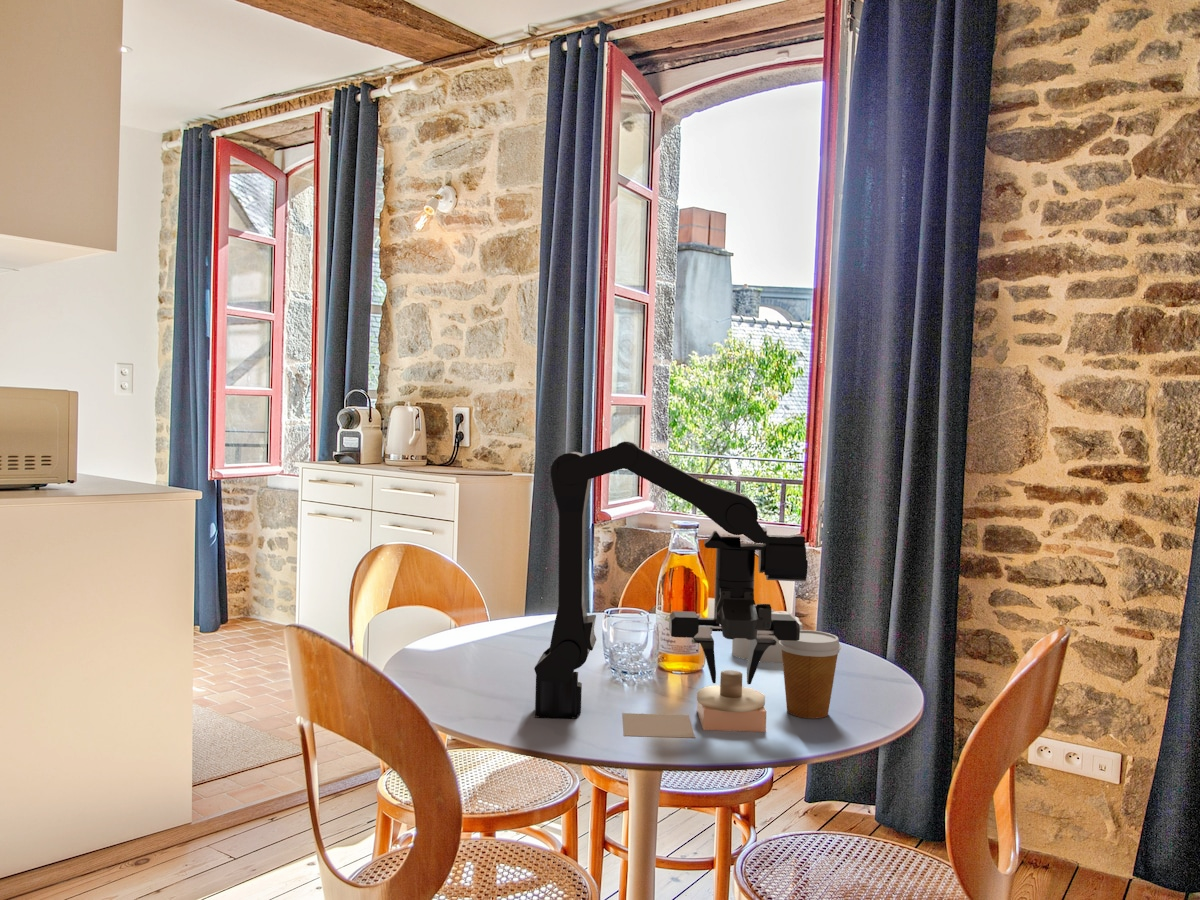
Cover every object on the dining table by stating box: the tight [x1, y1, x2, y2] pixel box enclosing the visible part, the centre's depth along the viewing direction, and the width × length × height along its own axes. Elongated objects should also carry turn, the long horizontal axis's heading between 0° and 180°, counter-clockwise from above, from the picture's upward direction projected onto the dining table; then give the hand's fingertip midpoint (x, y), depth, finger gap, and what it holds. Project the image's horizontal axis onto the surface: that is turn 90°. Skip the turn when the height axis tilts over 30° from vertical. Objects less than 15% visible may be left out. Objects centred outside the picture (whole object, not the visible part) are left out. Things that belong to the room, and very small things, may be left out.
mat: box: [622, 712, 696, 739], centre depth 135 cm, size 10×10×1 cm
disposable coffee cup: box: [779, 629, 842, 719], centre depth 144 cm, size 10×10×12 cm
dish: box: [696, 700, 767, 733], centre depth 138 cm, size 9×9×4 cm
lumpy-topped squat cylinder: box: [731, 608, 803, 664], centre depth 180 cm, size 10×13×9 cm
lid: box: [696, 670, 766, 712], centre depth 137 cm, size 10×10×4 cm
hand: (731, 683), depth 137 cm, fingers open, 5 cm apart
